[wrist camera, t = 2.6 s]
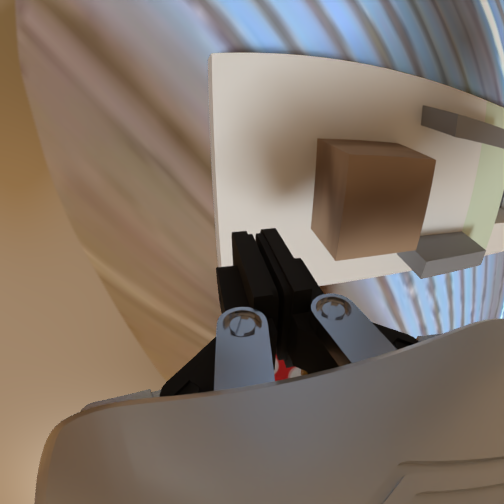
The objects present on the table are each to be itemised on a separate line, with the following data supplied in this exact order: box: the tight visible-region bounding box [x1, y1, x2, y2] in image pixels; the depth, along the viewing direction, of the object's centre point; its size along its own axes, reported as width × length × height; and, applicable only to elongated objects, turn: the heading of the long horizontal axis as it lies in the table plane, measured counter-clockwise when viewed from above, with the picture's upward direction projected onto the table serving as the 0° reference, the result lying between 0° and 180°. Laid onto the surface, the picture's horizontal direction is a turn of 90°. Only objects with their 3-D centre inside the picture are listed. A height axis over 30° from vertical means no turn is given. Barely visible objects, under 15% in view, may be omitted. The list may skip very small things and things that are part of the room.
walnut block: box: [311, 138, 436, 261], centre depth 17 cm, size 6×6×4 cm
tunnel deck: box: [208, 53, 504, 286], centre depth 20 cm, size 16×36×8 cm, turn 90°
